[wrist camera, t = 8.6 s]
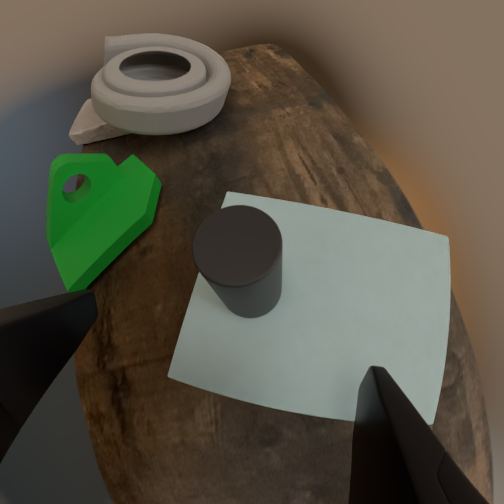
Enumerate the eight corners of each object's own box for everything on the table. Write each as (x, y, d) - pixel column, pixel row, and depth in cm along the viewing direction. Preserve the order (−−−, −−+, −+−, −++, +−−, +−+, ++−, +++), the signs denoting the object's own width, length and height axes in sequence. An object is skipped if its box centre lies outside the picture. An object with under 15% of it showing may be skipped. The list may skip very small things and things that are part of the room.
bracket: (77, 297, 20) (20, 262, 14) (54, 243, 23) (10, 207, 17) (178, 199, 23) (144, 140, 17) (138, 163, 26) (108, 113, 20)
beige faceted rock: (93, 158, 32) (60, 144, 27) (102, 120, 33) (73, 105, 28) (142, 134, 29) (106, 113, 23) (151, 94, 29) (120, 71, 24)
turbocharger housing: (260, 92, 23) (87, 104, 16) (240, 140, 28) (94, 161, 22) (209, 28, 28) (94, 34, 21) (198, 66, 33) (94, 75, 27)
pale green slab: (427, 423, 9) (494, 437, 4) (171, 376, 11) (109, 374, 7) (443, 241, 13) (493, 187, 8) (228, 197, 15) (208, 125, 10)
